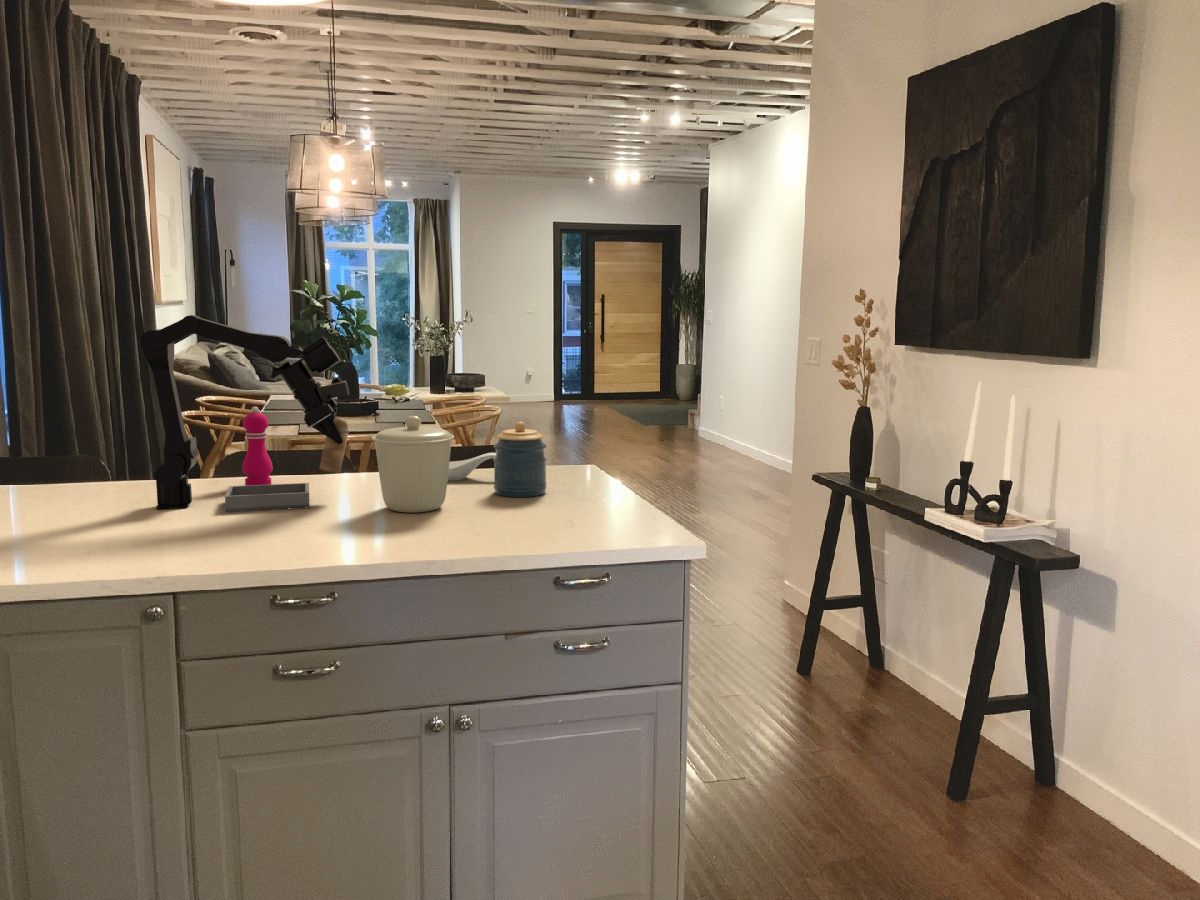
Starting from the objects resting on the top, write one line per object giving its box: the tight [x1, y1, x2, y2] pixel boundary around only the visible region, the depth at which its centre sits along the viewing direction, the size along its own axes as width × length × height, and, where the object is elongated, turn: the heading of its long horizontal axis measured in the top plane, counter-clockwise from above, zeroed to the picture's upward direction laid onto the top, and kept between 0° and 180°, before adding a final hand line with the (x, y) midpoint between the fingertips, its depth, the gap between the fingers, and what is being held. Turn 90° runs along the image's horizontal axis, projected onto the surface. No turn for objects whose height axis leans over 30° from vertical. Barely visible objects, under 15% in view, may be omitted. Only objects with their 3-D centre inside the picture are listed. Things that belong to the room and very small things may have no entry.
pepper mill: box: [241, 406, 274, 486], centre depth 236 cm, size 7×7×20 cm
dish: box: [224, 482, 310, 513], centre depth 215 cm, size 18×13×4 cm
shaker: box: [319, 417, 350, 474], centre depth 218 cm, size 5×5×12 cm
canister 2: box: [493, 421, 548, 498], centre depth 230 cm, size 13×13×18 cm
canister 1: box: [371, 415, 455, 514], centre depth 211 cm, size 18×18×21 cm
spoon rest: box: [448, 452, 496, 481], centre depth 250 cm, size 24×12×7 cm, turn 87°
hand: (341, 441), depth 218 cm, fingers closed on shaker, 5 cm apart
